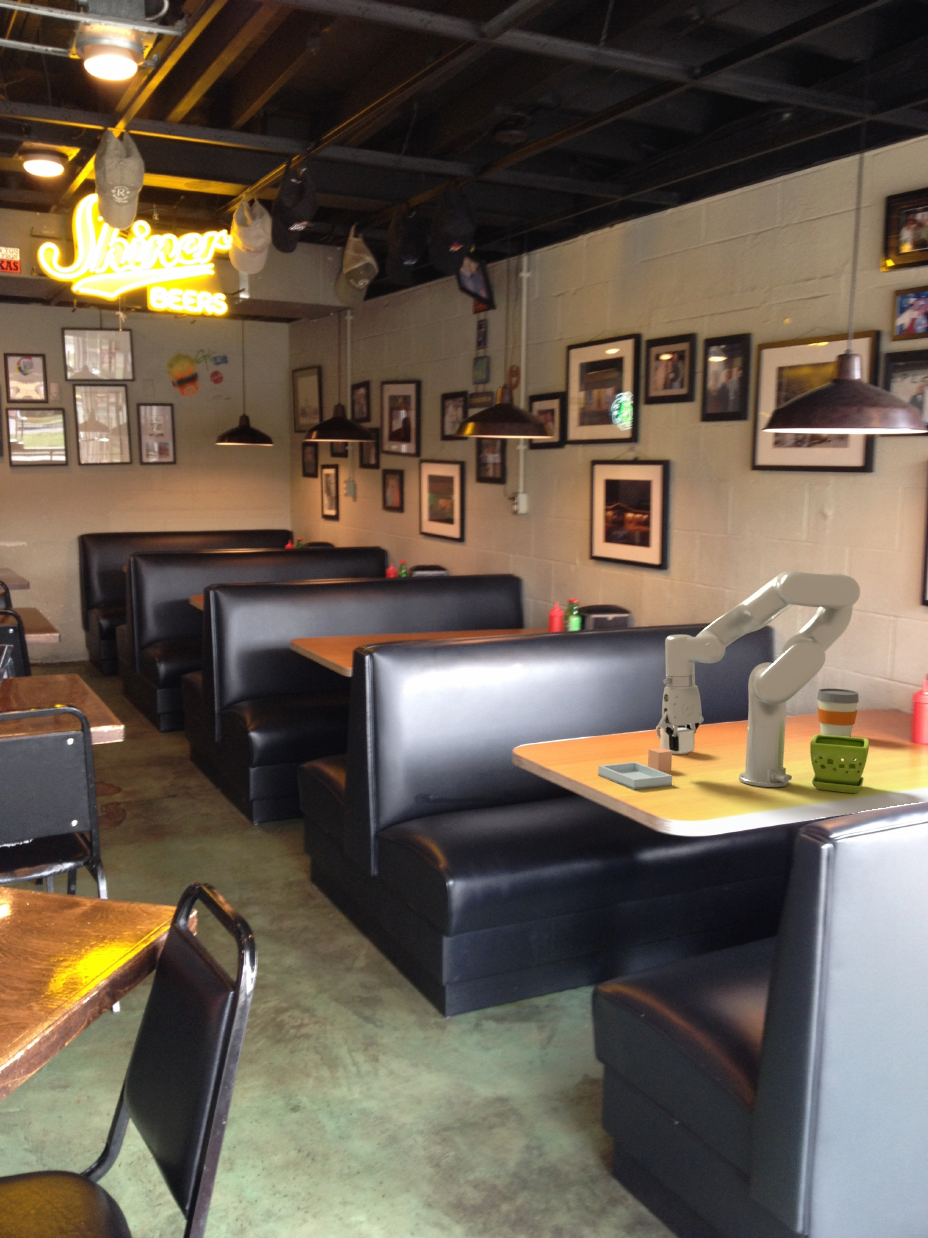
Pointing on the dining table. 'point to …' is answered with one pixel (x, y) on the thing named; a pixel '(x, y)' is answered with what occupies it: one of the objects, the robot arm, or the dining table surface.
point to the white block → (685, 740)
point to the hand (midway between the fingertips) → (681, 748)
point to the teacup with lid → (666, 739)
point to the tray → (635, 775)
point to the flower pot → (838, 762)
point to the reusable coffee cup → (837, 711)
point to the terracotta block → (660, 759)
